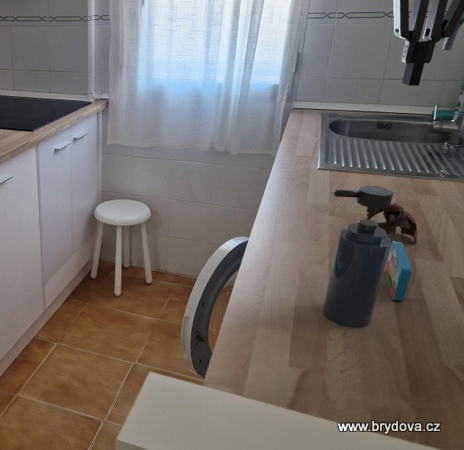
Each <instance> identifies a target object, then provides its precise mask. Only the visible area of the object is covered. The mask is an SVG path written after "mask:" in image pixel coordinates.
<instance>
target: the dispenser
mask: <svg viewBox="0 0 464 450" xmlns="http://www.w3.org/2000/svg"><path fill="white" fill-rule="evenodd" d="M378 223H379V222H377V221H375V220H372V219H370V220H367V218H362V219H359V220H358V222H354V223H351V224H348V225H347V227H346V228H343V229H342V230H340V231H339V233H338V237H337V243H336V246H335V247H336V248H335V252H334V257H333V261H332V265H331V270H330V274H329V279H328V284H327V288H326V289H327V290H326V293H325V296H324V297H325V298H324V303H323V307H322V313H323V316H325V318H326V319H328V320H329V321H330V322H332V323H334V324H336V325H339V326H341V327H346V328H352V329H360V328H365V327H367V326H369V325H370V324H371V322H372V318H373V315H374V310H375V307H376V302H377V299H378V296H379V291H380V288H381V284H382V280H383V276H384V273H385V269H386V265H387V261H388V257H389V253H390V250H391V246H392V240H391V239H390V237H389V236H387V234H386V231H385V230H383V229H382V228H380V227H378Z"/></svg>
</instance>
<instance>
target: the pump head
mask: <svg viewBox="0 0 464 450" xmlns="http://www.w3.org/2000/svg"><path fill="white" fill-rule="evenodd" d="M333 196H334V197H336V198H356V203H357V204H358V205H360V206H363V207H366V213H376V209H384V208H388V207H390V205H391V204H392V201H393V196H394V192H393V191H392V190H390V189H388V188H386V187H382V186H376V185H363V186H360V187H359V188H358V190H347V189H346V190H345V189H336V190H334V191H333Z"/></svg>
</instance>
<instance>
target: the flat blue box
mask: <svg viewBox="0 0 464 450" xmlns="http://www.w3.org/2000/svg"><path fill="white" fill-rule="evenodd" d="M412 272H413V268H412V266H411V263H410V260H409V257H408V255H407V252H406V248H405V246H404V242H401V241H395V240H393V241H391V246H390V249H389V253H388V257H387V261H386V265H385V269H384V273H385V276H386V279H387V283H388V287H389V291H390V295H391V299H392V301H396V302H401V303H402V302H404V300H405V296H406V293H407V290H408V286H409V283H410V279H411V275H412Z"/></svg>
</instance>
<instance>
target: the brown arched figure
mask: <svg viewBox="0 0 464 450" xmlns="http://www.w3.org/2000/svg"><path fill="white" fill-rule="evenodd" d="M381 213H382V215H383V217H384V219H385V221H384V222H377V223H378V227H380V228H382V229H383V230H385V231H386V235H392V236H394V237H395V236H397V228H398V227H399V228H400V235H407V236H410V237H412V238H413V244H414V245H416V244H417V243H418V229H417V223H416V220H415V218H414V217H413V215H412V214H411V213H410V212H409V211H407V210H405V209H404V208H403V207H402V206H401V205H400V204H398V203H397V202H393V203H391V205H390V207H388V208H384V209H376V213H368V212H366V216H367V218H366V219H367V220H372V218H373V217H375V216H376V215H378V214H381Z"/></svg>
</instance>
